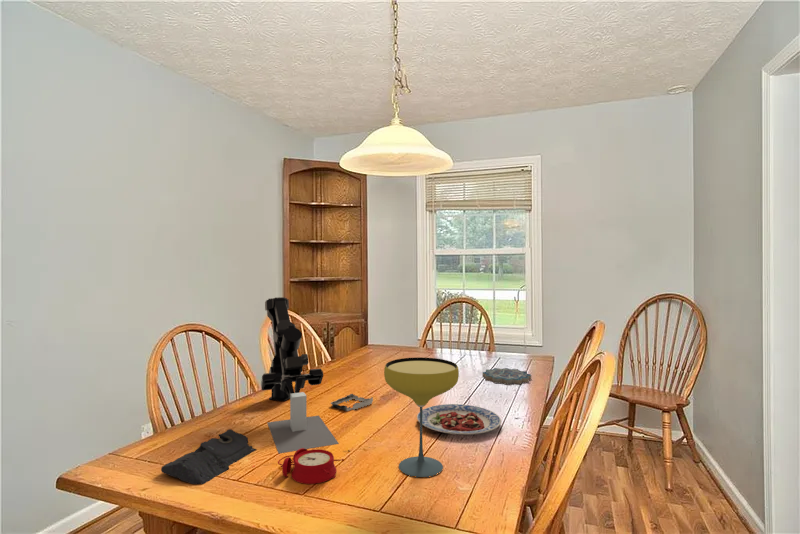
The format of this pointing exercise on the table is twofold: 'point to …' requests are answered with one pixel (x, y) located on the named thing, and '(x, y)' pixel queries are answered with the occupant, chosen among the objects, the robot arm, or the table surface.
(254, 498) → the table surface
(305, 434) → the rubber mat
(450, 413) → the ceramic plate
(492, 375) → the decorative tile
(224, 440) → the dark slate chunk
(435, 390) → the cocktail glass
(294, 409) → the painted block
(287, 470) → the alarm clock
